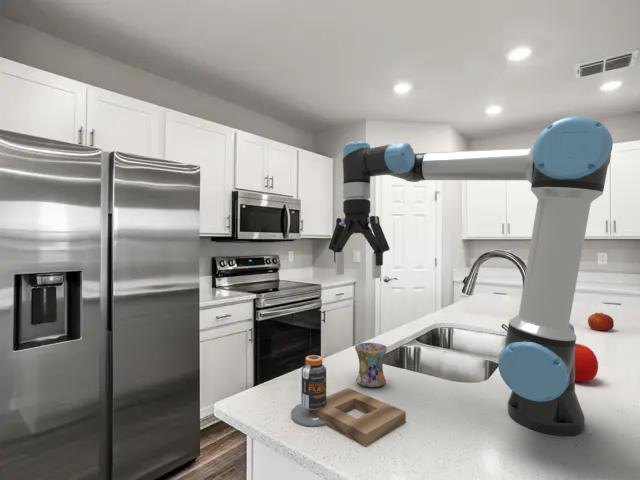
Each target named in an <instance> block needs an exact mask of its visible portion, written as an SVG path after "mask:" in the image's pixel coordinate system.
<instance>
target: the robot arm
mask: <svg viewBox="0 0 640 480" xmlns="http://www.w3.org/2000/svg"><path fill="white" fill-rule="evenodd" d="M612 150H613V137H612V134H611V133H610V131H609V130H608V128H607V127H606V126H605V125H604V124H603V123H602V122H601V121H599V120H597V119H595V118H593V117H589V116H584V115H572V116H567V117H563V118H560V119H558V120H556V121H554V122H552V123H551V124H549V125H548V126H546V127H545V128H544V129H542V131H541V132H540V133H539V134H538V135H537V137H536V139H535V141H534V145H532V146H530V147H521V148H518V147H517V148H498V149H480V150H461V151H459V150H458V151H443V152H442V151H440V152H437V151H436V152H422V153H419V152H417V153H415V151H414V149H413V147H412V145H411V144H410V143H408V142H406V141H405V142H394V143H391V144H385V145H381V146H375V147H371V145H370V144H369V142H366V141H360V140H359V141H350V142H348V143H346V144H345V145H344V147H343V149H342V151H343V153H342V154H343V155H342V169H343V171H342V172H343V174H342V175H343V177H342V178H343V182H342V185H343V186H342V188H343V189H342V198H343V199H344V200H343V202H342V205H343V207H342V208H343V209H342V211H343V214H344V217H337V218H336V219H335V222H336V223H335V227H334V230H333V234H332V237H331V238H330V239H331V240H330V242H329V246H328V250H330V251H333V261H334V264H335V265H334V266H335V276H341V275H344V273H345V260H344V259H345V253H344V250H343V249H344V248H345V246H346V244H347V243H348V242H349V239H350V238H351V236H352V235H354V234H362V235H363V236H364V238H365V240H366V241H367V243H368V244H369V246H370V247H371V249H372V250H373V253H372V254H371V274H372V275H371V277H372V279H373V280H375V279H381V278H382V266H383V264H384V253H385V252H387V251H389V250H391V249H390V246H389V243H388V241H387V238H386V235H385V233H384V231H383V228H382V226H381V224H380V221H381V220H380V216H378V215H370V213H371V201H370V200H369V199H370V198H371V177H378V176H379V177H380V176H391V177H394V178H398V179H402V180H405V181H406V182H411V183H412V182H413V183H418V182H421V181H528V182H529V183H530V185H531V186H530V191H531V192H532V194H533V195H534V196H535V197H536V199H537V203H536V209H535V214H534V221H533V228H532V233H531V239H530V246H529V252H528V257H527V263H526V270H525V275H524V281H523V287H522V294H521V299H520V306H519V311H518V314H517V315H516V316H514V317H513V318H512V317H511V319H510V320H508V321H509V322H508V326H507V330H506V331H507V332H506V338H505V343H504V348H503V349H502V350H501V351H500V353H499V355H498V363H497V364H498V365H497V366H498V371H499V374H500V377H501V379H502V381H503V382H504V383H505V385H507V387H508V388H509V389H510V391H511V393H510V395H509V398H508V401H507V413H508V415H509V416H510V418H512V419H513V420H514V421H516V422H517V423H518V424H520V425H522V426H524V427H526V428H528V429H531V430H535V431H538V432H540V433H544V434H550V435H556V436H575V435H579V434H581V433H583V432H585V429H586V428H585V427H586V422H585V421H586V420H585V414H584V412H583V410H582V406H581V404H580V401H579V397H578V395H577V392H576V381H575V344H577V343H576V341H577V335H576V333H575V328H574V326H573V324H571V323H570V320H571V314H572V310H573V309H572V308H573V303H574V298H575V293H576V288H577V287H576V286H577V283H578V277H579V271H580V266H581V265H580V264H581V259H582V254H583V249H584V242H585V238H586V231H587V225H588V222H589V221H588V220H589V215H590V214H589V213H590V210H591V204H592V203H593V202H594V201H595V200H596V199H598V198H600V197H601V196H602V195H603V194H604V190H605V183H606V180H607V179H606V178H607V173H608V168H609V166H610V165H609V164H610V162H611V157H612V156H611V155H612ZM369 225H370V226H369Z"/></svg>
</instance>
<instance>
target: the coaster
mask: <svg viewBox="0 0 640 480" xmlns="http://www.w3.org/2000/svg"><path fill="white" fill-rule="evenodd" d="M290 417H291V420H292V421H293V422H295V424H297V425H300V426H302V427H309V428H310V427H312V428H315V427H316V428H317V427H318V428H319V427H323V426H328V425H327V422H326V421H324V420H322V419H321V418H319V417H317V416H315V415H313V414H311V413H309V412H308V409H307V408H305V407H303V406H302V403H299V404H297V405H295V406H294V407H293V408H292V409H291V411H290Z"/></svg>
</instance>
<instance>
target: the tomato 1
mask: <svg viewBox="0 0 640 480" xmlns="http://www.w3.org/2000/svg"><path fill="white" fill-rule="evenodd" d="M598 371H599V361H598V358H597V355H595V352H594V351H593V350H592V349H591V348H590V347H588V346H586V345H584V344H580V343H575V382H579V383H580V382H582V383H585V382H590V381H592V380H594V378H596V376H597V374H598Z"/></svg>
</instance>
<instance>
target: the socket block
mask: <svg viewBox="0 0 640 480" xmlns="http://www.w3.org/2000/svg"><path fill="white" fill-rule="evenodd" d="M354 409H356V410H358V411H360V412H362V413H364V414H363V415H362V416H360V417H358V418H356V417H355V416H352V415H350V414H348V412H350V411H352V410H354ZM308 412H309V413H311V414H313V415H315V416H317V417H319V418H321V419H322V420H324V421H326V422H327V425H326V426H328V427H330V428H332V429H333V430H334V431H337V432H339V433H340V434H342V435H344V436H345V437H347V438H350V439H352V440H353V441H355V442H357V443H359V444H361V445H362V446H364V447H367V446H369V445H370V444H372V443H374V442H376V441H377V440H380V439H381V438H382V437H384V436H386V435H387V434H389V433H390V432H392V431H394V430H395V429H398V428H399V427H400V426H402V425H404V424H405V423H407V420H406V419H407V415H406V414H407V413H406V410H403V409H401V408H399V407H396V406H393V405H391V404H389V403H386V402H383V401H381V400H379V399H376V398H374V397H372V396H370V395H366V394H365V393H362V392H359V391H357V390H356V389H352V388H350V387H346V388H344V389H342V390H340V391H336V392H335V393H332V394H330V395H326V405H325V406H324V407H323V408H320V409H308Z"/></svg>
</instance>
